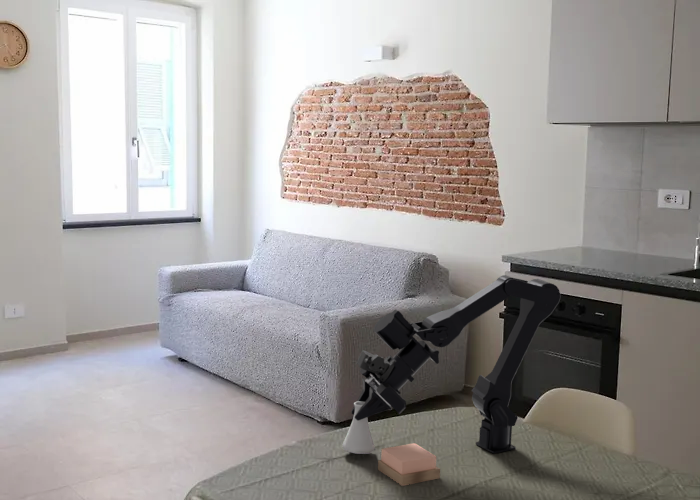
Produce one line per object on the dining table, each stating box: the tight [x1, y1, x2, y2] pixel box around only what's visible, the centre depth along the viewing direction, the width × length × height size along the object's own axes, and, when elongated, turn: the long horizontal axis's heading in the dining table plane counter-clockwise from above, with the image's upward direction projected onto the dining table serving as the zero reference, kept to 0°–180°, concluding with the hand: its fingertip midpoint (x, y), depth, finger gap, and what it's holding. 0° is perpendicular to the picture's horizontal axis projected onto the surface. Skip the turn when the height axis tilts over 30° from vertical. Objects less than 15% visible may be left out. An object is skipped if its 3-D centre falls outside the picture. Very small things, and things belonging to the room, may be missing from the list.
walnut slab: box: [377, 459, 441, 487], centre depth 163 cm, size 9×9×2 cm
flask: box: [341, 400, 376, 455], centre depth 172 cm, size 7×7×10 cm
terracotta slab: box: [380, 442, 437, 475], centre depth 163 cm, size 8×8×2 cm
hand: (354, 416), depth 171 cm, fingers closed on flask, 3 cm apart
